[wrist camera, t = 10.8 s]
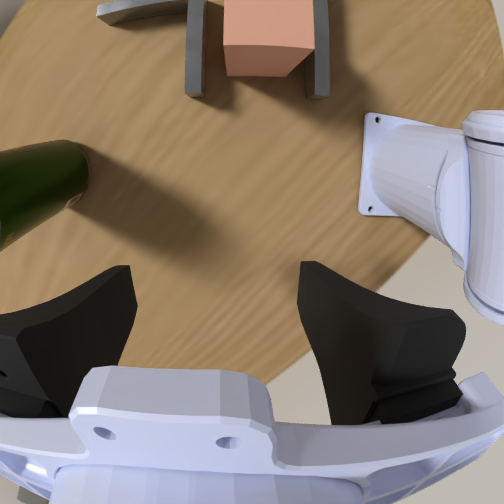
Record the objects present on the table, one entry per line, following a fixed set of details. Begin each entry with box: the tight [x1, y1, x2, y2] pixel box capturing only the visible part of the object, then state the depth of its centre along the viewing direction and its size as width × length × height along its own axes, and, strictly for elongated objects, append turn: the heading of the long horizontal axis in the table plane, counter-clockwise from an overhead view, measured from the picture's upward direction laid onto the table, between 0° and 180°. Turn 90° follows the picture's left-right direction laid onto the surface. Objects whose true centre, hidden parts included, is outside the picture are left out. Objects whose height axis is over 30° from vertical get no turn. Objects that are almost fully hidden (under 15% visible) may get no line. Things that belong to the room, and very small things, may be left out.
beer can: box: [0, 140, 90, 252], centre depth 14 cm, size 5×5×12 cm
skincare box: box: [17, 486, 50, 504], centre depth 32 cm, size 8×7×16 cm
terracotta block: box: [223, 0, 315, 77], centre depth 13 cm, size 4×4×8 cm
